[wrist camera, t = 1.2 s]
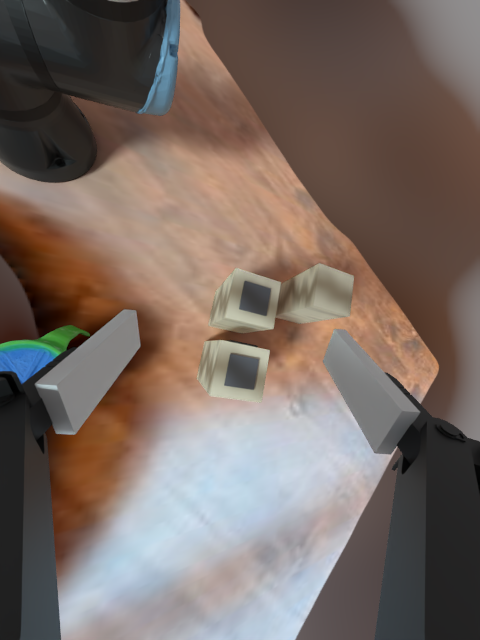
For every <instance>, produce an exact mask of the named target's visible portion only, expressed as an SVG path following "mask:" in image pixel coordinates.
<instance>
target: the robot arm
mask: <svg viewBox="0 0 480 640" xmlns="http://www.w3.org/2000/svg"><path fill="white" fill-rule="evenodd" d="M179 36H180V0H0V161H1V162H2V163H3V164H4V165H5V166H7V167H8V168H9V169H11V170H12V171H14V172H16V173H18V174H20V175H22V176H24V177H27V178H30V179H33V180H37V181H43V182H64V181H69V180H72V179H75V178H77V177H79V176H81V175H83V174H84V173H86V172H87V171H88V170H89V169H90V168H91V166H92V165H93V163H94V161H95V158H96V154H97V145H96V141H95V138H94V135H93V132H92V129H91V127H90V125H89V122H88V121H87V119H86V117H85V116H84V114H83V113H82V111H81V110H80V109H79V108H78V107H77V105H76V104H75V103H73V101H72V99H71V97H70V96H69V95H71V96H74V97H78V98H82V99H86V100H90V101H94V102H98V103H101V104H105V105H109V106H113V107H117V108H121V109H125V110H128V111H132V112H136V113H138V114H143V113H146V114H152V115H158V116H161V115H165V114H166V113H167V112H168V111H169V109H170V108H171V105H172V101H173V97H174V91H175V84H176V76H177V65H178V55H177V52H178V45H179ZM140 346H141V345H140V337H139V329H138V321H137V313H136V310H125V309H124V310H123V311H121V312H120V313H119V314H118V315H117V316H115V317H114V318H113V319H112V320H111V321H109V322H108V323H107V324H106V325H105V326H103V327H102V328H101V329H100V330H99V331H97V332H96V333H95V334H94V335H93V336H91V337H90V338H89V339H88V340H87V341H85V342H84V343H83V344H82V345H81V346H79V347H78V348H76V347H73V348H71V349H69V350H66V351H64V352H62V353H61V354H59V355H58V356H57V357H56V358H54V359H53V361H50V362H49V363H48V364H47V365H45V367H43V368H42V369H40V370H39V371H38V372H36V373H35V374H34V375H33V376H31V377H30V378H29V379H28V380H26V381H25V382H24V383H22V384H21V382H20V380H19V378H18V376H17V374H16V373H15V372H12V371H0V640H61V633H60V619H59V605H58V590H57V576H56V561H55V547H54V532H53V518H52V503H51V489H50V475H49V460H48V446H47V437H46V435H45V431H46V430H47V429H48V428H49V427H50V426H51V425H53V427H54V430H55V432H56V433H58V434H74V435H75V434H76V433H77V431H78V430H79V429H80V427H81V426H82V425H83V423H84V422H85V420H86V419H87V418H88V416H89V415H90V414H91V412H92V411H93V410H94V408H95V407H96V406H97V404H98V403H99V402H100V400H101V399H102V398H103V396H104V395H105V394H106V392H107V391H108V389H109V388H110V387H111V385H112V384H113V383H114V381H115V380H116V379H117V377H118V376H119V375H120V373H121V372H122V371H123V369H124V368H125V367H126V365H127V364H128V363H129V361H130V360H131V359H132V357H133V356H134V354H135V353H136V352H137V350H138V349H139V348H140ZM323 363H324V364H325V366H326V368H327V370H328V372H329V373H330V375H331V377H332V379H333V380H334V382H335V384H336V386H337V387H338V389H339V391H340V393H341V395H342V396H343V398H344V400H345V402H346V403H347V405H348V407H349V409H350V410H351V412H352V414H353V416H354V417H355V419H356V421H357V423H358V425H359V426H360V428H361V430H362V432H363V433H364V435H365V437H366V439H367V440H368V442H369V444H370V446H371V448H372V449H373V451H374V453H379V454H391V453H392V452H393V451H394V449H395V448H396V446H398V448H399V449H400V451H401V452H402V455H401V456H400V458H399V459H398V460H397V462H396V463H395V464H394V466H393V468H392V470H395V469H396V468H398V470H397V478H396V485H395V492H394V499H393V508H392V514H391V522H390V530H389V536H388V544H387V551H386V559H385V566H384V574H383V581H382V588H381V596H380V603H379V611H378V618H377V625H376V633H375V640H480V442H479V441H476V440H473V439H469V438H467V437H466V436H465V435H464V434H463V433H462V432H461V431H460V430H459V429H458V428H456V427H455V426H454V425H452V424H450V423H448V422H447V421H444V420H441V419H439V418H433V417H432V416H431V415H430V414H429V413H428V412H427V411H426V410H425V409H424V408H423V407H422V405H421V404H420V403H419V402H418V401H417V400H416V399H415V398H414V397H413V396H412V395H410V393H409V392H408V391H407V390H406V389H404V387H403V385H402V384H401V383H400V382H399V381H398V380H397V379H395V378H394V377H393V376H391V375H390V374H388V373H385V372H383V371H382V370H381V368H380V367H379V366H378V365H377V364H376V363H375V362H374V361H373V360H372V359H371V358H370V356H369V355H368V354H367V353H366V352H365V351H364V350H363V349H362V348H361V347H360V345H359V344H358V343H357V342H356V341H355V340H354V339H353V338H352V337H351V336H350V335H349V333H348V332H347V331H346V330H341V329H334V331H333V334H332V337H331V340H330V343H329V345H328V348H327V351H326V354H325V357H324V360H323Z"/></svg>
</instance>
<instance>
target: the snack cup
mask: <svg viewBox="0 0 480 640" xmlns="http://www.w3.org/2000/svg"><path fill="white" fill-rule="evenodd" d="M79 333H80V334H82V335H85V336H90V334H89V333H88V332H86V331H84V330H81V329H79V328H76V327H74V326H72V325H68V326H64V327H61V328H58V329H56V330H54V331H52V332H50V333H48V334H46V335H45V336H43V337H41V338H40V339H38V340H17V341H10V342H6V343H3V344H0V371H12V372H15V373H16V374H17V376H18V378H19V380H20V382H21V384H22V383H24V382H25V381H26V380H28V379H29V378H30V377H31V376H33V375H34V374H35V373H36V372H38V371H39V370H40V369H42V368H43V367H45V365H47V364H48V363H49V362H50V361H53V359H54V358H56V357H57V356H58V355H59V354H61V353H62V352H64V351H66V349H67V346H68V343H69V341H70V340H72V339H73V338H74V337H75V336H77V335H78V334H79Z"/></svg>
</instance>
